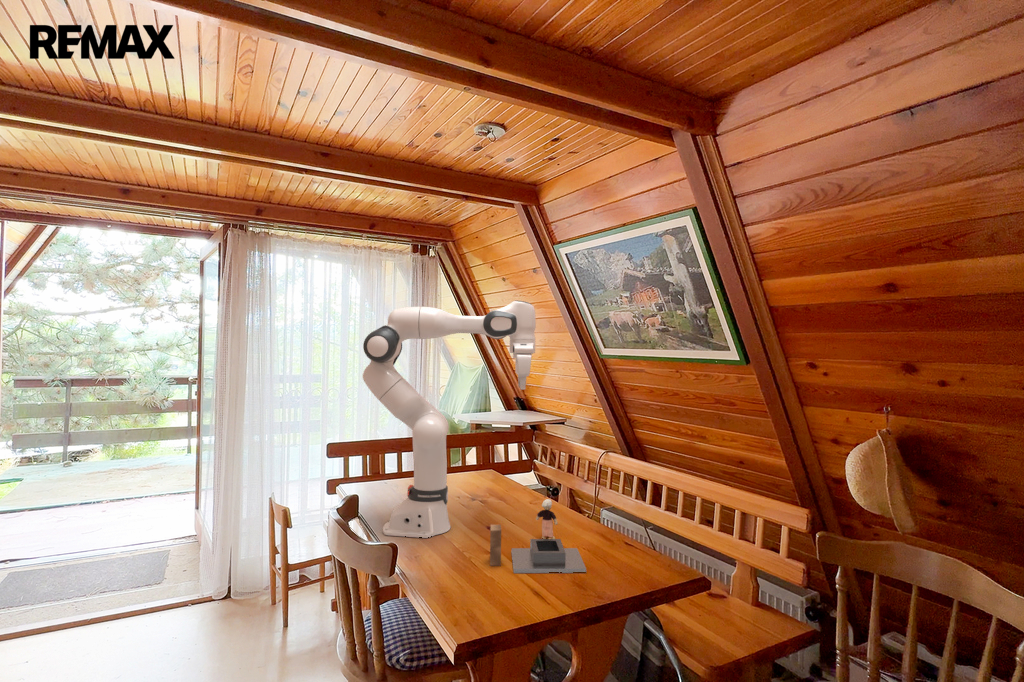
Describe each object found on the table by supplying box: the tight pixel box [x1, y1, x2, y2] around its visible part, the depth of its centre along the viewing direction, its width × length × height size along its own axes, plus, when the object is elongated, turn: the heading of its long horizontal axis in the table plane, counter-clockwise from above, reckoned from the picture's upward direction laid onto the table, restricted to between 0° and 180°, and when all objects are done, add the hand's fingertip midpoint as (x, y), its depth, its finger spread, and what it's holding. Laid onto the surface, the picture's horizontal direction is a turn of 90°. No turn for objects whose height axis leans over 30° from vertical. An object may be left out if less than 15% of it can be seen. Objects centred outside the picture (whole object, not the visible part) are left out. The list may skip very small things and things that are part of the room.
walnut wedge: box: [489, 524, 502, 567], centre depth 154 cm, size 3×5×10 cm, turn 3°
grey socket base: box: [511, 538, 587, 574], centre depth 155 cm, size 20×15×5 cm
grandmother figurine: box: [535, 498, 558, 539], centre depth 174 cm, size 8×4×13 cm, turn 71°
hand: (521, 388), depth 184 cm, fingers open, 8 cm apart
